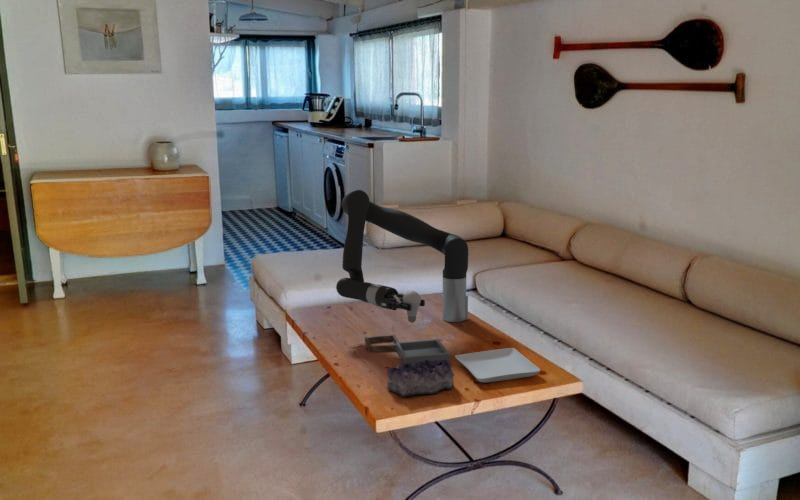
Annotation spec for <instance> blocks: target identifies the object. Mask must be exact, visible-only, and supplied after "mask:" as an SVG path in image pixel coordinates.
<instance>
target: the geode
mask: <svg viewBox="0 0 800 500" xmlns="http://www.w3.org/2000/svg"><path fill="white" fill-rule="evenodd" d="M386 375H387V377H388V379H387V390H389V391H391V392H393V393H397V395H399V396H400V397H402V398H406V397H411V396H415V395H422V396H423V395H437V394H438V393H439V392H440V391H442V390H453V388H454V380H453V379H454V375H455V374H454V372H453V369H452V365H451V362H448V361H447V360H446V361H445V362H444V363H442V362H439V361H437V360H435V361H434V362H432V361H429V360H425V362H424V363H423V362H422V361H420V362H418V363H416V364H407V363H406V364H405V365H404V364H397V365H396V366H395V367H390V368H388V369H387V370H386Z"/></svg>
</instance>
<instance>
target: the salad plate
mask: <svg viewBox="0 0 800 500" xmlns="http://www.w3.org/2000/svg"><path fill="white" fill-rule="evenodd" d="M454 358H455V359H456V360H457V362H458V363H460V364H461V365H462V367H465V368H466V369H467V370H468V371H469V372H470V374H471V375H473V377H474V378H475V379H476V381H477V382H479V383H486V384H487V383H495V382H502V381H509V380H517V379H524V378H528V377H529V378H530V377H532V376H533V377H534V376H536V375H537V374H539V373H540V372H541V369H540V368H539V367H538V366H537V365H536V364H534V363H533V362H531V361H530V360H529V359H528V358H527V357H525V355H523V354H522V353H521V352H519V350H517V349H516V348H515V347H509V348H500V349H499V348H498V349H491V350H484V351H476V352H469V353H464V354H462V353H461V354H456V355H455V356H454Z"/></svg>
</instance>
